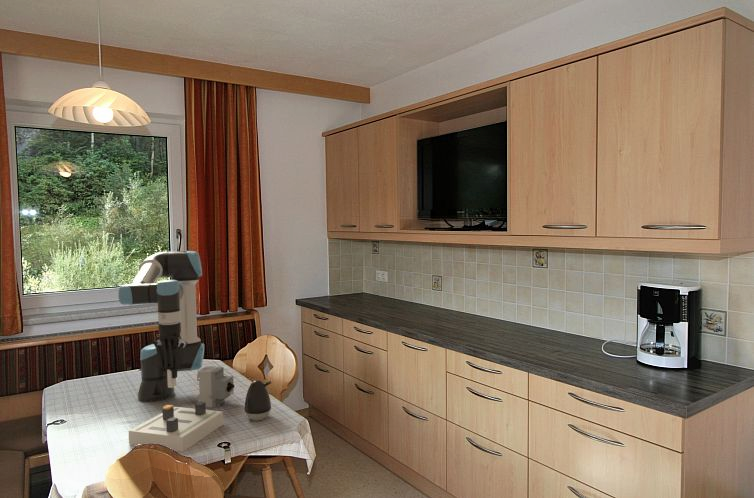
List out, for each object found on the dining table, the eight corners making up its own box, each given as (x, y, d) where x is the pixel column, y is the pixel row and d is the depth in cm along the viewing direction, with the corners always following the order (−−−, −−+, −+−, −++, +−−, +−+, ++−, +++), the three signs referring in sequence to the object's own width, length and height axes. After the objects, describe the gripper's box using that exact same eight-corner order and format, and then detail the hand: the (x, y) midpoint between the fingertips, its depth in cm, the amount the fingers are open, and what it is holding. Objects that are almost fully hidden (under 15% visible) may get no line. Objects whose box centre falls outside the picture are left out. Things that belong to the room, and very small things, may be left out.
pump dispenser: (272, 421, 197) (271, 383, 196) (244, 424, 195) (243, 385, 194) (271, 412, 207) (270, 375, 206) (245, 414, 205) (244, 377, 204)
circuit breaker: (229, 408, 212) (228, 372, 211) (198, 406, 215) (196, 371, 214) (237, 401, 220) (236, 367, 219) (207, 400, 222) (206, 366, 222)
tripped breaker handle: (162, 419, 186) (162, 407, 186) (168, 416, 189) (167, 404, 189) (168, 420, 186) (167, 408, 185) (173, 417, 188) (173, 405, 188)
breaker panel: (129, 444, 178) (128, 419, 178) (174, 419, 201) (173, 396, 201) (182, 451, 172) (181, 425, 171) (223, 424, 195) (222, 401, 194)
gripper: (147, 324, 183) (149, 388, 185) (177, 325, 179) (180, 391, 181) (161, 320, 190) (164, 382, 192) (191, 321, 187) (193, 384, 188)
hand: (172, 386), depth 186 cm, fingers closed
